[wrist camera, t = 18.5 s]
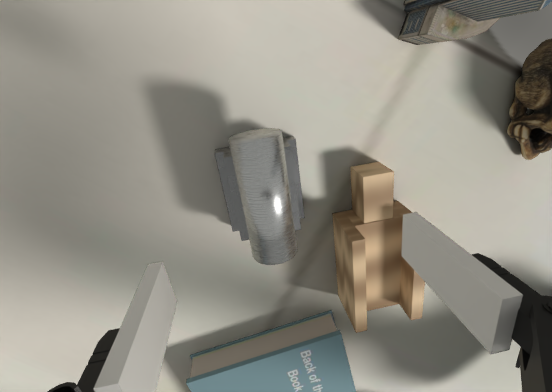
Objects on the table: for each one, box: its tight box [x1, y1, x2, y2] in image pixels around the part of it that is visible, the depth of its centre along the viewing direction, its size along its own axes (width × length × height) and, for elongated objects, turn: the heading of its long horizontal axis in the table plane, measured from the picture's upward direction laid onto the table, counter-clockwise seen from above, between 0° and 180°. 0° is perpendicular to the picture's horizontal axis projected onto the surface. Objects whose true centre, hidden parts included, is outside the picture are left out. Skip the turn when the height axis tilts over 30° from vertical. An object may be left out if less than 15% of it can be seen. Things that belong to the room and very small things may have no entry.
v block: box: [215, 136, 305, 241], centre depth 34 cm, size 10×9×4 cm
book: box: [186, 310, 356, 392], centre depth 47 cm, size 23×16×5 cm
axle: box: [229, 128, 297, 265], centre depth 30 cm, size 13×5×5 cm, turn 8°
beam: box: [332, 162, 425, 333], centre depth 38 cm, size 20×9×7 cm, turn 8°
